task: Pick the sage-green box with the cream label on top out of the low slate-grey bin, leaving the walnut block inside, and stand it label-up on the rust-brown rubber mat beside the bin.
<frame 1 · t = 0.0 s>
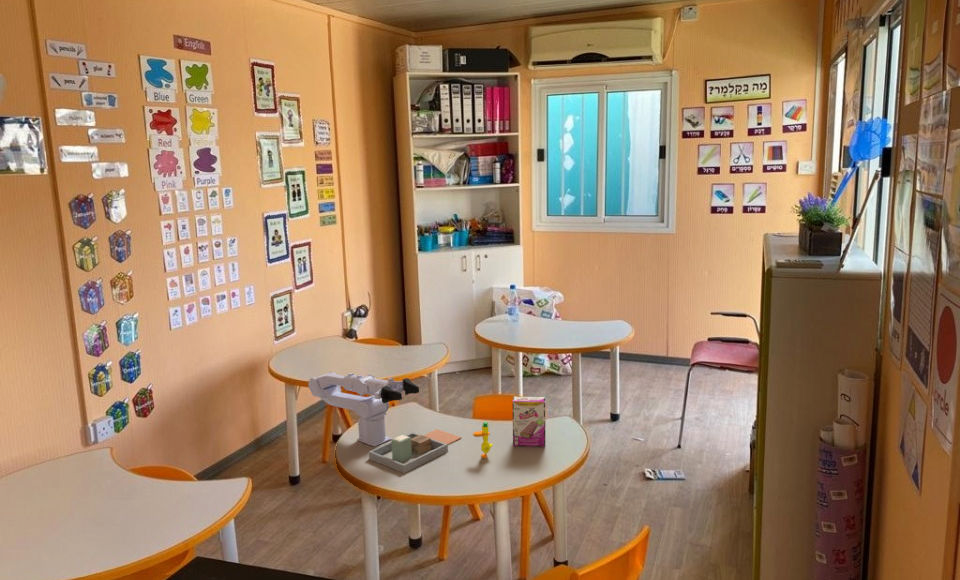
hand: (409, 393, 227), 22 cm above the table, tool horizontal, fingers open, 7 cm apart
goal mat: (440, 438, 244), on the table
candy bar box: (529, 444, 237), on the table
walnut block: (420, 449, 235), resting in parts bin
parts bin: (408, 454, 231), on the table
toy figure: (483, 457, 228), on the table
labelled box: (402, 458, 229), resting in parts bin
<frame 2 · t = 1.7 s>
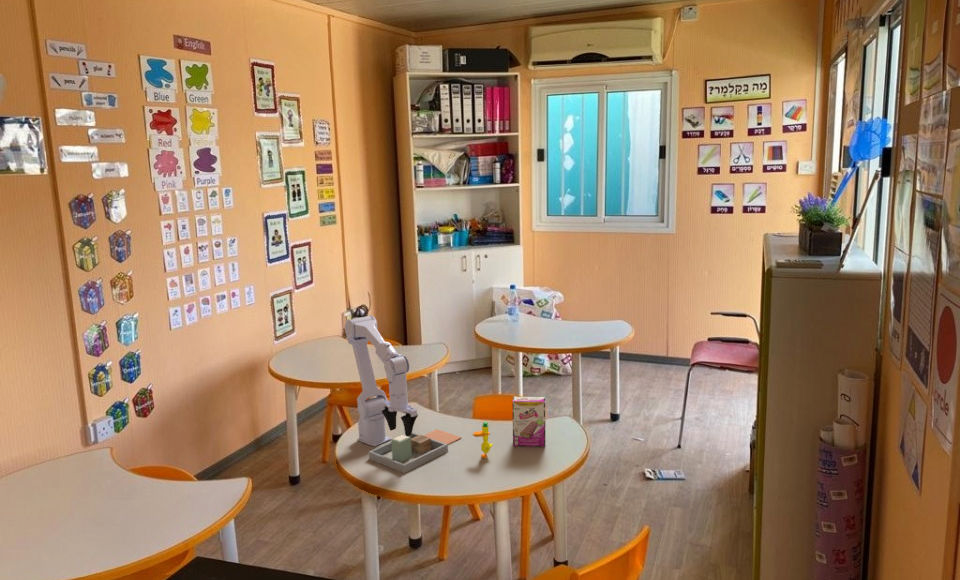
hand: (400, 432, 227), 9 cm above the table, tool pointing down, fingers open, 7 cm apart
nothing on the table moved.
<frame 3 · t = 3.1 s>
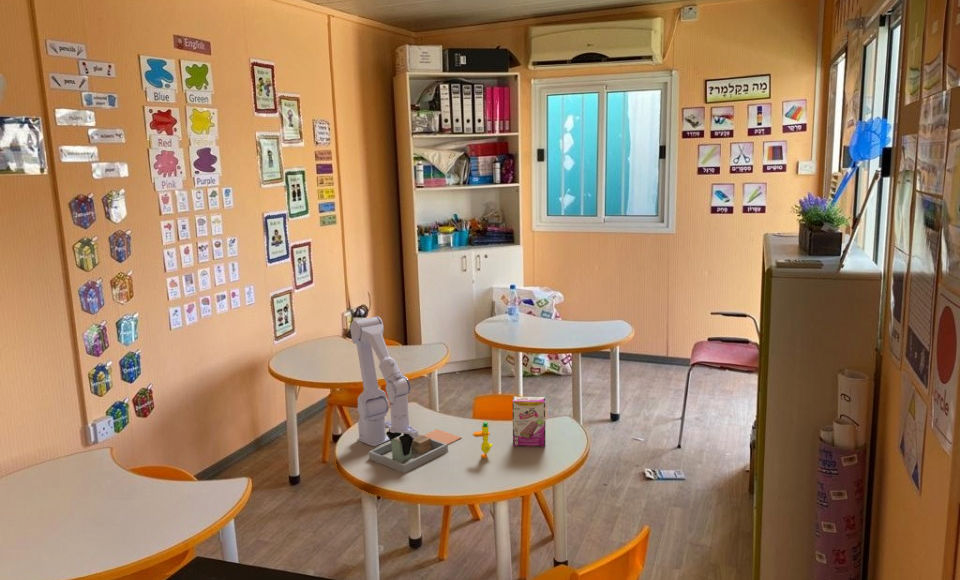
hand: (401, 452, 229), 2 cm above the table, tool pointing down, fingers closed on labelled box, 4 cm apart
labelled box: (402, 458, 229), resting in parts bin, touching gripper
everything else where it was.
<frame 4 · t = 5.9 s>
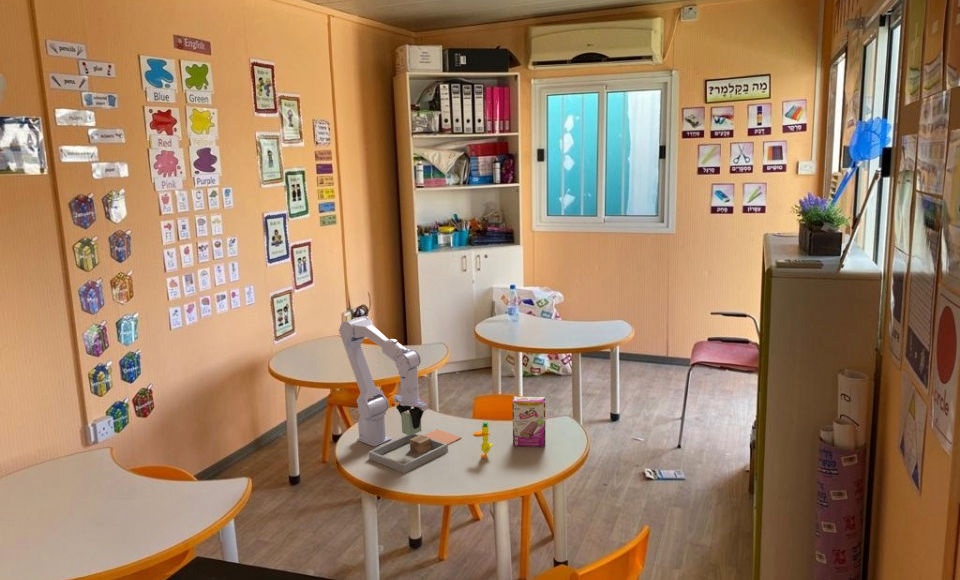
hand: (411, 426, 231), 9 cm above the table, tool pointing down, fingers closed on labelled box, 4 cm apart
labelled box: (411, 431, 232), point 7 cm above the table, touching gripper
everything else where it was.
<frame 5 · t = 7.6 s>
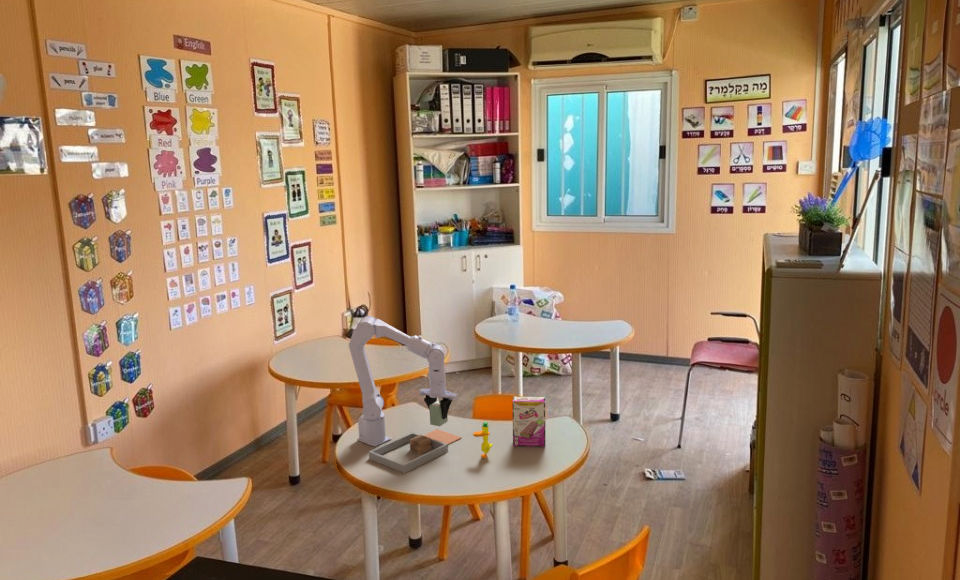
hand: (439, 417, 242), 8 cm above the table, tool pointing down, fingers closed on labelled box, 4 cm apart
labelled box: (439, 422, 242), point 6 cm above the table, touching gripper
everything else where it was.
when the fingers open (4 cm above the table, at t = 8.9 s): labelled box drops 1 cm, resting on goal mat.
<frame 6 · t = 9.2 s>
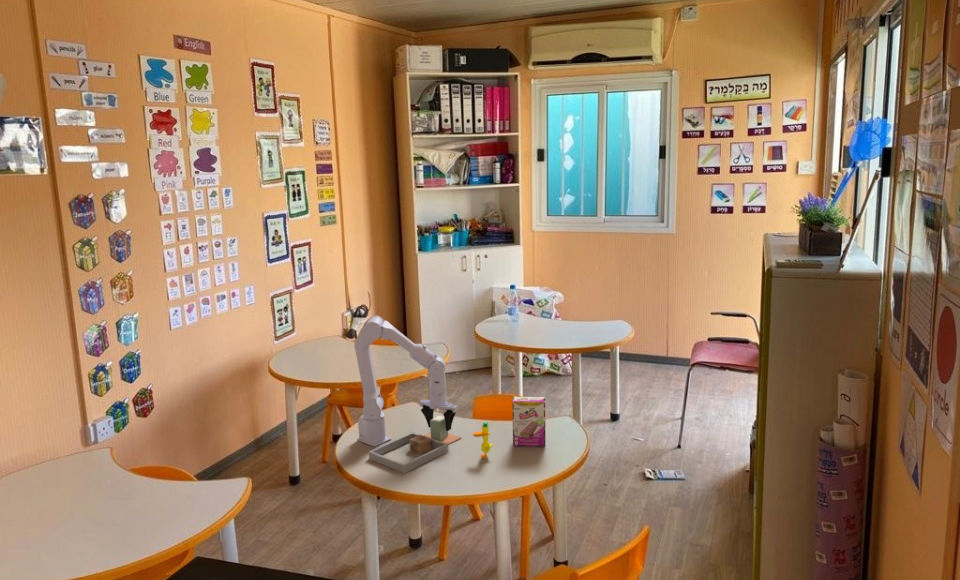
hand: (439, 428, 243), 4 cm above the table, tool pointing down, fingers open, 7 cm apart
labelled box: (439, 437, 243), resting on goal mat
everything else where it was.
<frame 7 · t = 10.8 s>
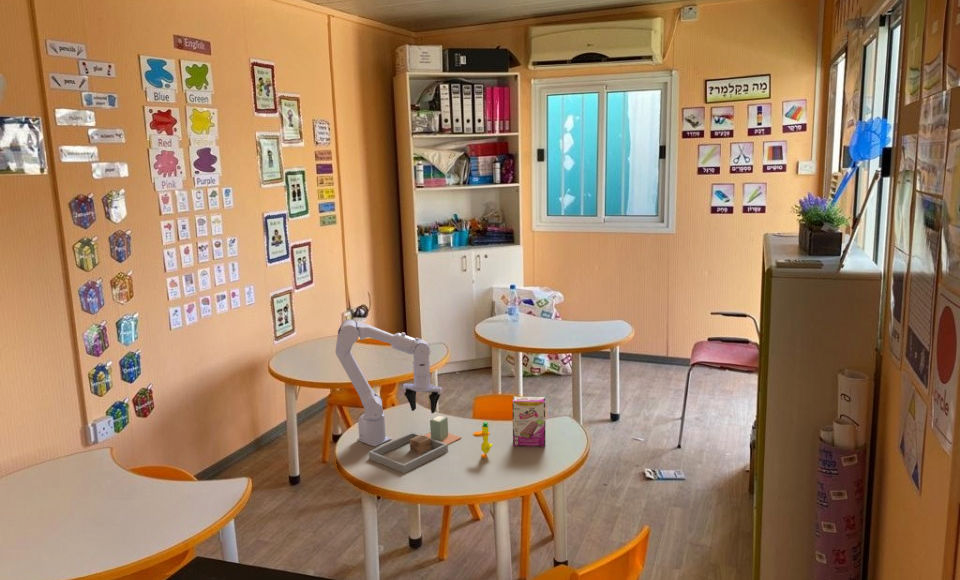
hand: (423, 411, 244), 9 cm above the table, tool pointing down, fingers open, 7 cm apart
nothing on the table moved.
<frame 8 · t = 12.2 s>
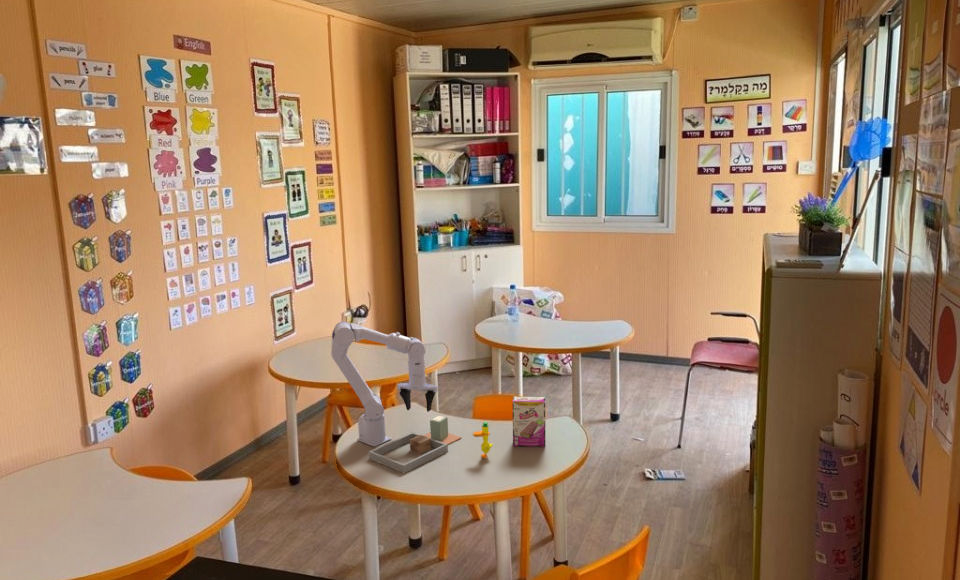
hand: (418, 409, 245), 9 cm above the table, tool pointing down, fingers open, 7 cm apart
nothing on the table moved.
at the end: labelled box inside the target area on the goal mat (0.3 cm from its centre), point 0.4 cm above the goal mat's base; labelled box tilted 0°; walnut block moved 0.2 cm from its start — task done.
